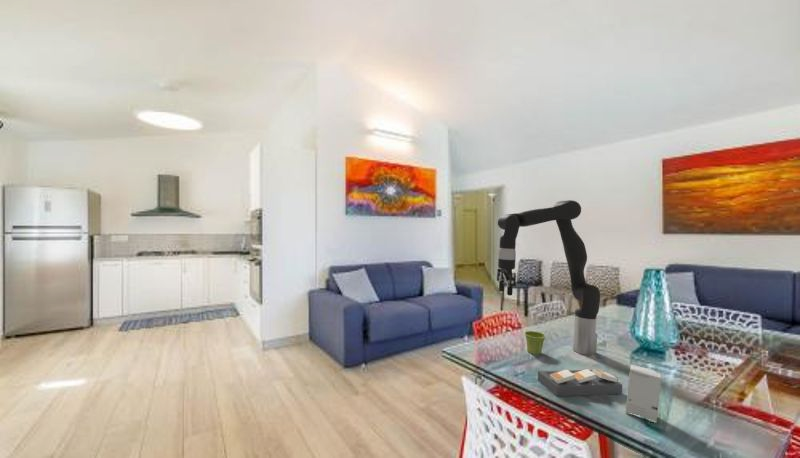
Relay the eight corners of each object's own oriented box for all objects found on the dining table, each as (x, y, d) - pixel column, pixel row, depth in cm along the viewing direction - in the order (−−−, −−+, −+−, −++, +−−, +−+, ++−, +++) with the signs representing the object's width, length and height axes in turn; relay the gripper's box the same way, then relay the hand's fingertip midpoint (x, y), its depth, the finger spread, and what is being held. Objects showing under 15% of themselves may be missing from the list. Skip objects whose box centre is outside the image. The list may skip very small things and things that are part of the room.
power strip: (610, 378, 132) (611, 367, 132) (636, 393, 121) (637, 381, 120) (537, 379, 128) (538, 368, 128) (556, 396, 116) (557, 383, 116)
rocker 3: (607, 376, 125) (608, 372, 125) (616, 382, 121) (617, 378, 121) (591, 372, 124) (593, 368, 124) (600, 377, 120) (601, 373, 120)
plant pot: (547, 357, 151) (548, 338, 151) (525, 354, 153) (526, 336, 153) (542, 349, 160) (543, 332, 160) (522, 347, 162) (523, 330, 162)
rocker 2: (587, 372, 124) (587, 368, 124) (596, 377, 120) (595, 374, 119) (571, 377, 123) (570, 373, 123) (579, 383, 119) (578, 379, 118)
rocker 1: (567, 372, 123) (566, 369, 123) (575, 378, 118) (574, 374, 118) (550, 378, 122) (549, 374, 122) (557, 383, 117) (557, 379, 117)
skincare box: (625, 414, 107) (628, 368, 106) (627, 406, 111) (630, 363, 111) (658, 425, 101) (661, 377, 101) (659, 416, 106) (661, 371, 106)
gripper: (522, 260, 144) (520, 296, 145) (507, 256, 158) (506, 290, 159) (506, 259, 143) (504, 296, 144) (492, 256, 157) (491, 289, 158)
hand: (505, 293), depth 151 cm, fingers open, 8 cm apart
